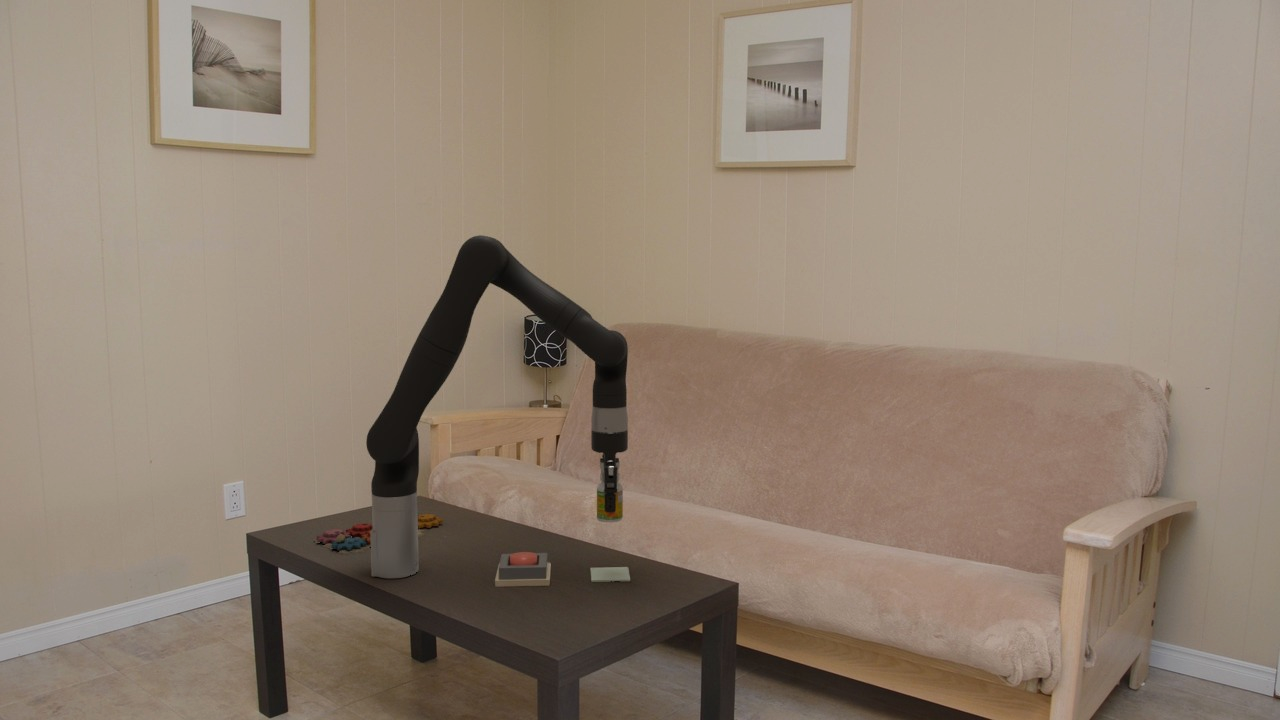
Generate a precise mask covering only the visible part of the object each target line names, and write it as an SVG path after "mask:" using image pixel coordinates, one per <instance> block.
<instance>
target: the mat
mask: <svg viewBox="0 0 1280 720" xmlns="http://www.w3.org/2000/svg"><path fill="white" fill-rule="evenodd" d="M630 576H631V575H630V570H629V567H628V566H618V567H617V566H616V567H614V566H613V567H611V566H610V567H609V566H607V567H590V579H591V583H612V582H613V583H614V581H620V582H631V577H630ZM611 581H612V582H611Z"/></svg>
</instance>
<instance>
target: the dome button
mask: <svg viewBox="0 0 1280 720" xmlns="http://www.w3.org/2000/svg"><path fill="white" fill-rule="evenodd" d="M535 553H536V552H531V551H519V552H514V553H511V554H512V555H510V566H512V565H537V554H535Z"/></svg>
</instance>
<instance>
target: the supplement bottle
mask: <svg viewBox="0 0 1280 720" xmlns="http://www.w3.org/2000/svg"><path fill="white" fill-rule="evenodd" d="M599 475H600V476H599V480H600V483H598V485H596V486H597V487H596V519H597V521H599V522H602V523H618V522H620V521H622V520H623V516H624V515H623V511H624V510H623V509H624V508H623V507H624V506H623V505H624V504H623V502H624V499H623V498H624V497H623V494H624V493H623V492H624V488H623V484H621V483H620V473H619V472H618V477H619V480H618V483H617V493H616V511H615V512H605V494H604V483H602V473H601V472H600V474H599ZM604 477H605V474H604ZM607 487H614V484H613V483H608V484H607Z"/></svg>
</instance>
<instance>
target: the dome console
mask: <svg viewBox="0 0 1280 720" xmlns="http://www.w3.org/2000/svg"><path fill="white" fill-rule="evenodd" d="M534 553H535V554H537V565H512V566H510V555H512V554H513V553H501V556H500V559H499V563H498V567H497V570H496V575H495V579H494V587H495V588H498V587H499V588H500V587H504V588H505V587H538V586H539V587H542V586H544V587H545V586H546V587H547V586H548V587H549V586H550V585H551V573H552V572H551V571H552V569H551V568H552V567H551V566H552V563H551V562H548V552H534Z"/></svg>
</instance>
